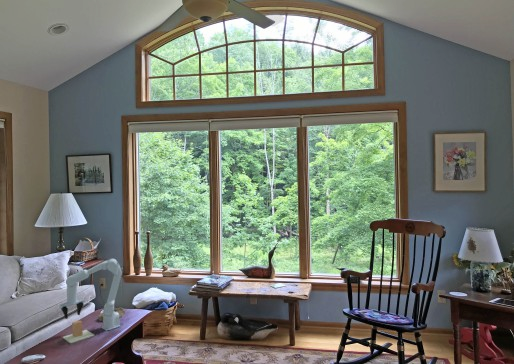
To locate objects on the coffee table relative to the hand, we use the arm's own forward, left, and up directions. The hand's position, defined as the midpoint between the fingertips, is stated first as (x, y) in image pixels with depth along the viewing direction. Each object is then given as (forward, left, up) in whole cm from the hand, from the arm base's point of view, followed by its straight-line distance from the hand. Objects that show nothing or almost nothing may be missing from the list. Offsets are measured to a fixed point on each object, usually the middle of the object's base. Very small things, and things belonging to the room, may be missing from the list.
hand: (72, 316), depth 233 cm
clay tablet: (-30, -8, -11) cm, 33 cm away
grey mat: (0, +9, -10) cm, 14 cm away
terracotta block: (0, +7, -10) cm, 12 cm away
